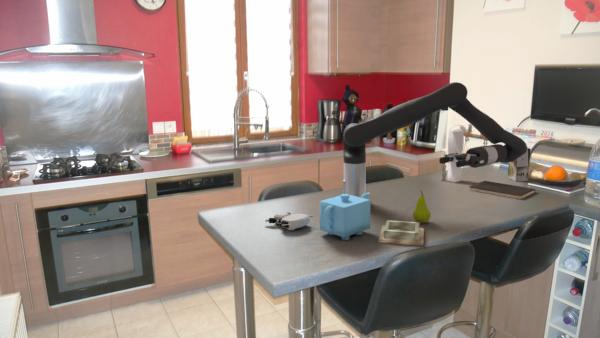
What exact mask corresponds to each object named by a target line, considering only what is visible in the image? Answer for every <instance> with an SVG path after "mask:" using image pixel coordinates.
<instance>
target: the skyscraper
mask: <svg viewBox="0 0 600 338" xmlns="http://www.w3.org/2000/svg"><path fill="white" fill-rule="evenodd" d="M459 126H460V127H459ZM455 127H458V128H455ZM462 127H463V126H462V125H461V124H454V125H453V126H451V127H450V128H449V132H448V140H447V154H453V153H458V154H461V153H464V152H463V150H464V145H465V144H464V138H465V137H464V135H465V134H464V132H465V131H464V129H462ZM456 161H457V160H456ZM461 168H462V167H456V164H454V163H453V162H449V163H448V167H447V164H446V163H443V165H442V175H441V176H442V178H441V182H445V183H452V184H455V183H459V182H461V181H462V169H461ZM446 171H447V172H446Z"/></svg>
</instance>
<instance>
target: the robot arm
mask: <svg viewBox="0 0 600 338" xmlns="http://www.w3.org/2000/svg"><path fill="white" fill-rule="evenodd" d="M467 96H468V89H467V86H466V85H465V84H463V83H461V82H457V81H456V82H455V81H454V82H450V83H448V84H446V85H444V86H442V87H441V88H439V89H437V90H435V91H433V92H431V93H428V94H426V95H424V96H421V97H417V98H413V99H411V100H408V101H406V102H403V103H400V104H398V105H395V106H393V107H391V108H389V109H388V110H386V111H384V112H382V113H380V114H379V115H378V116H376V117H374V118H373V119H370V120H366V121H365V122H361V123H358V122H357V123H356V122H352V123H350V124H347V125H346V127H345V128H344V130H343V135H342V136H343V139H342V141H343V144H342V145H343V147H342V150H343V180H342V194H348V195H352V196H357V197H362V195H363V194H364V193H366V185H367V184H366V180H367V179H366V177H367V176H366V174H367V173H366V172H367V170H366V166H367V165H366V164H367V162H366V161H367V160H366V159H367V156H366V155H367V154H366V143H367V142H370V141H372V140H374V139H376V138H378V137H380V136H383V135H386V134H389V133H392V132H396V131H398V130H401V129H403V128H406V127H408V126H411V125H413V124H416V123H417V122H419V121H421V120H423V119H425V118H427V117H428V116H430V115H431V114H434V113H436V112H438V111H441V110H444V109H447V108H448V109H450V110H452V111H454V112H455V113H456V114H458V115H459V116H461V117H462V118H464V120H466V121H467V122H468V123H469V124H470V125H471V126H473V127H474V128H475V129H476V130H477V131H478V132H479V133H480V134H481V135H482V136H483V137H484V138H485V139H486V140H488V142H490V143H491V144H490V145H480V146H476V147H471V148H468V149H467V150H466V152H462V153H461V154H458V153H453V154H448V153H447V154H444V156H442V157H439V164H443V165H444V163H445V164H449V162H453V163H454V164H456V167H461V168H462V167H463V168H464V167H467V168H469V167H471V168H474V169H476V168H480V167H486V166H490V165H493V164H497V163H504V164H507V163H508V164H509V162H512V161H514V160H516V159H517V158H519V157H520V156H522V155H523V154H525V153H526V151H527V148H528V145H527V143H526V141H524V139H522V138H521V137H520V136H518V135H515V134H514V133H511V132H510V131H508V130H506V129H504V128H503V127H502V126H501V125H500V124H499V123H498V121H496V120H495V119H493V118H492V117H491V116H489V115H488V114H486V113H485V112H483V111H482V110H480V109H478V107H476V106H475V105H474V104H473V103H471V101H470V100H469V99H468V98H467ZM502 143H503V144H504V145H502ZM456 160H457V161H456Z"/></svg>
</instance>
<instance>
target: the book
mask: <svg viewBox="0 0 600 338" xmlns="http://www.w3.org/2000/svg"><path fill="white" fill-rule="evenodd" d="M468 188H469V191H471V192H477V193H483V194H489V195H493V194H494V196H500V197H504V198H505V197H507V198H511V199H516V200H521V199H524V198H526V197H528V196H530V195H532V194H534V193H536V189H535V188H533V187H525V186H519V185H512V184H508V183H501V182H495V181H489V180H483V181H480V182H477V183H475V184H473V185H470V186H468Z"/></svg>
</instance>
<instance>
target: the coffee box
mask: <svg viewBox="0 0 600 338" xmlns="http://www.w3.org/2000/svg"><path fill="white" fill-rule="evenodd" d="M531 151H532V149H531V148H529V147H527V151H526V153H525V154H523V155H522V156H520V157H519V158H517V159H516V160H514V161H512V162H509V163H508V168H507V169H508V170H507V178H508V179H510V180H512V181H514V182H528V181H529V174H530V173H529V172H530V161H531V160H530V159H531Z"/></svg>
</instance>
